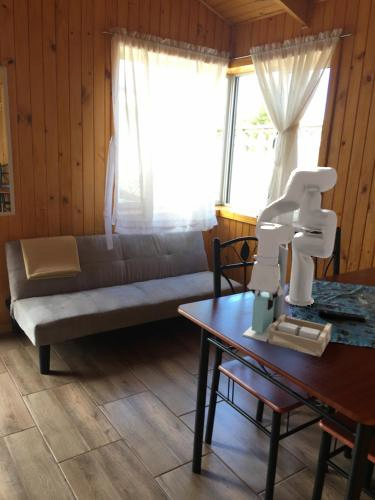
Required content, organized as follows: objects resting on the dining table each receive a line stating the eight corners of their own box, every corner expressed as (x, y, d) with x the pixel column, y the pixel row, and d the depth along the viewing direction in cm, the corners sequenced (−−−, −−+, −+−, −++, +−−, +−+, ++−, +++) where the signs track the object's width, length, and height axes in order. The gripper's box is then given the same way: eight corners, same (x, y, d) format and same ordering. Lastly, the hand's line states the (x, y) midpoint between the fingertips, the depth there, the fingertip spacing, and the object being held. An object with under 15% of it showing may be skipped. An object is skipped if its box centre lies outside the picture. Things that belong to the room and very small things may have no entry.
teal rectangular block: (251, 330, 152) (253, 299, 149) (262, 319, 162) (265, 290, 159) (261, 332, 150) (264, 301, 147) (272, 321, 160) (275, 292, 157)
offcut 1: (280, 338, 151) (281, 321, 149) (296, 342, 148) (298, 325, 146) (276, 342, 147) (278, 325, 146) (293, 346, 145) (295, 329, 143)
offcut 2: (300, 343, 147) (302, 326, 146) (317, 347, 144) (319, 330, 143) (297, 347, 144) (299, 330, 142) (315, 352, 141) (317, 334, 139)
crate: (281, 327, 159) (283, 313, 158) (330, 339, 151) (331, 323, 149) (268, 343, 146) (269, 327, 145) (320, 356, 138) (322, 340, 136)
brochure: (281, 324, 163) (288, 250, 155) (267, 322, 164) (273, 249, 156) (281, 310, 176) (287, 242, 169) (267, 309, 177) (273, 241, 170)
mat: (258, 320, 165) (258, 319, 165) (280, 326, 161) (280, 324, 161) (242, 335, 152) (242, 334, 152) (266, 341, 147) (266, 340, 147)
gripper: (241, 258, 150) (239, 306, 155) (287, 266, 142) (282, 315, 147) (249, 254, 157) (246, 300, 161) (293, 261, 149) (288, 309, 153)
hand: (263, 307), depth 154 cm, fingers closed on teal rectangular block, 3 cm apart
